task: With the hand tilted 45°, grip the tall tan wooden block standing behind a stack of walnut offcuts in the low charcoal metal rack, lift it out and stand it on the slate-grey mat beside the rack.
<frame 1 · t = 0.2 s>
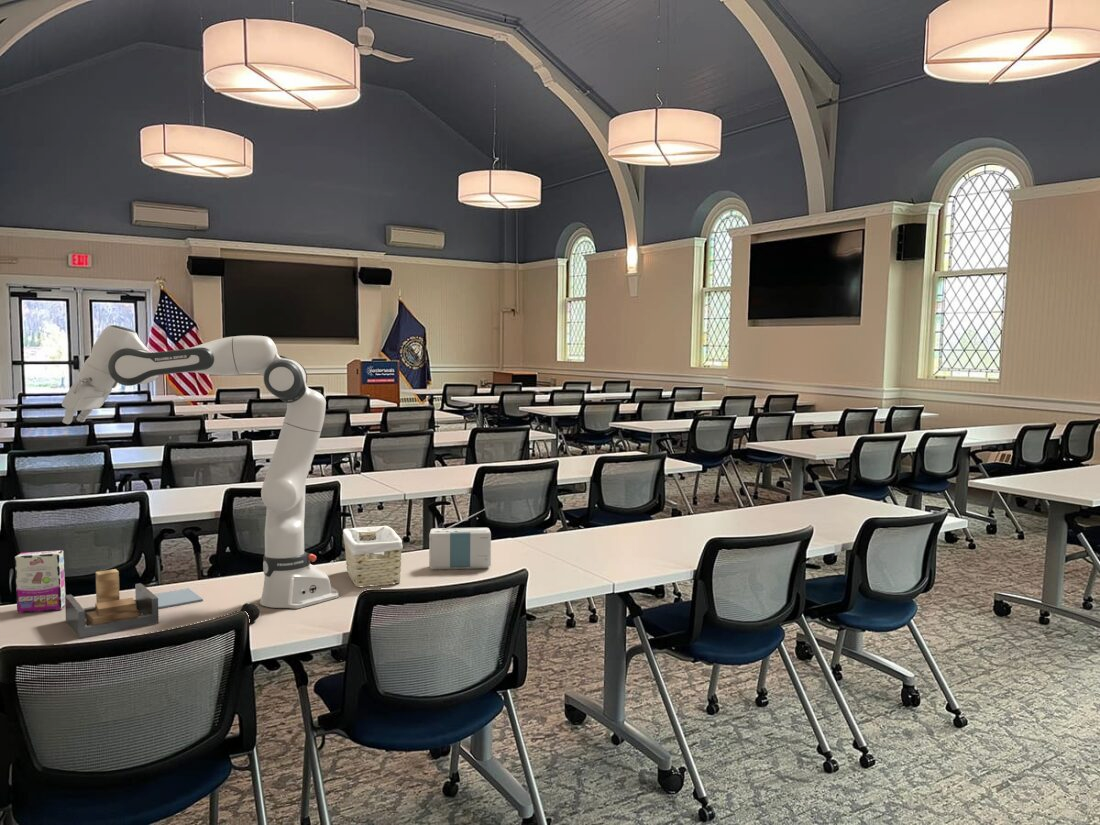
hand: (73, 422, 225), 54 cm above the table, tool tilted 25°, fingers open, 8 cm apart
storage basket: (372, 578, 266), on the table
microphone: (223, 629, 217), on the table
tan wooden block: (108, 618, 224), resting in rack
stereo radio cassette player: (460, 568, 280), on the table
rack: (112, 621, 220), on the table
offcut stack: (114, 625, 219), resting in rack
slate mat: (170, 599, 240), on the table
candy bar box: (41, 610, 230), on the table
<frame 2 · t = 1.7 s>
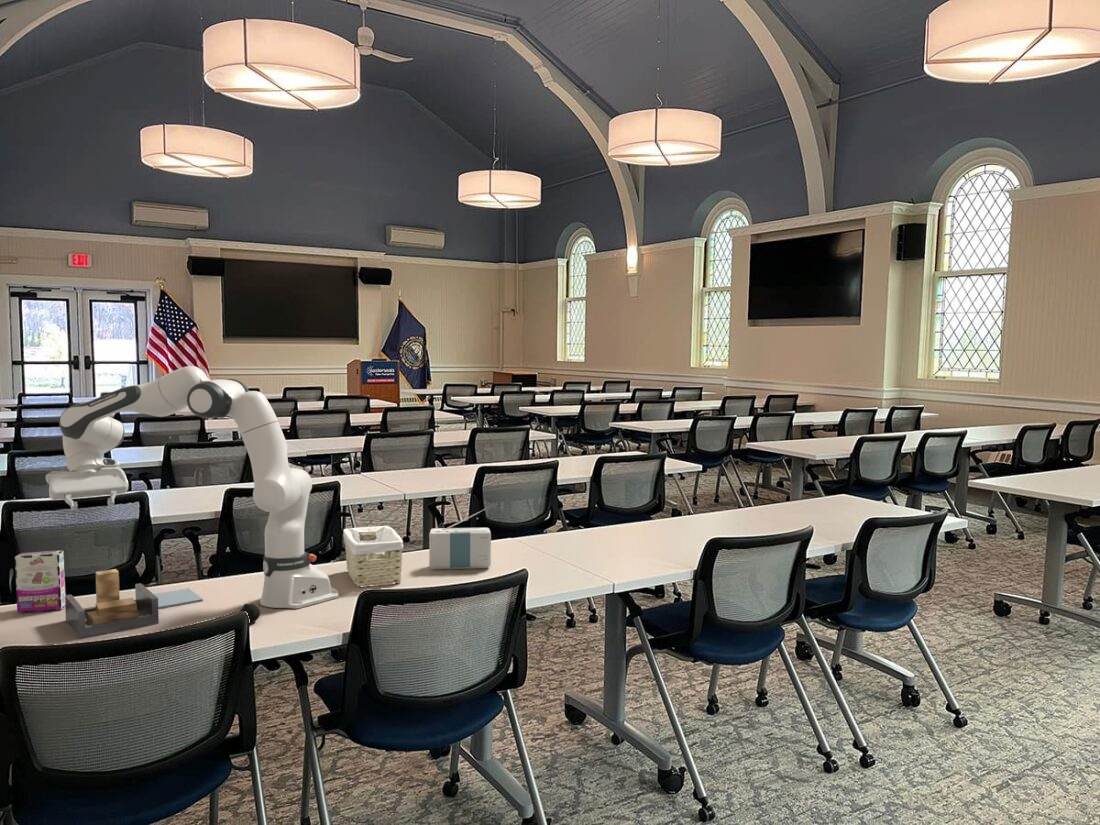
hand: (93, 506, 234), 29 cm above the table, tool tilted 45°, fingers open, 8 cm apart
nothing on the table moved.
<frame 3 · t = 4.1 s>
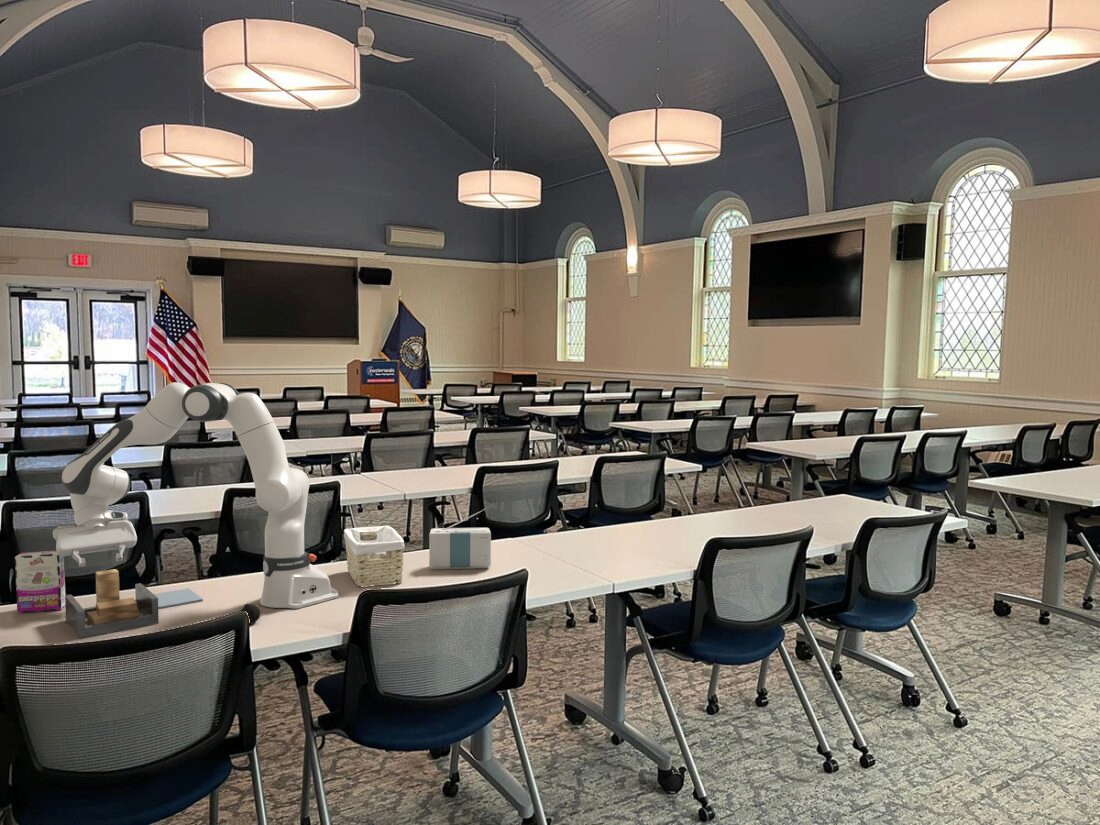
hand: (101, 562, 228), 14 cm above the table, tool tilted 45°, fingers open, 8 cm apart
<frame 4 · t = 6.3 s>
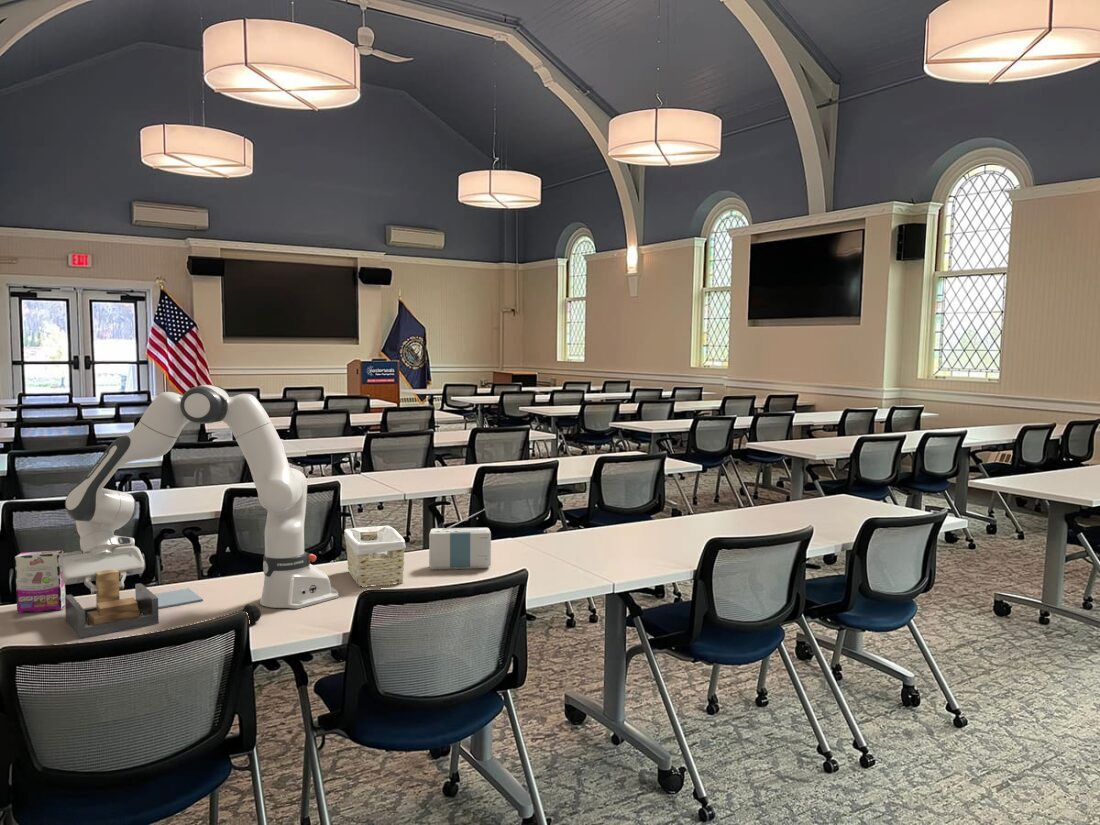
hand: (108, 590, 223), 8 cm above the table, tool tilted 45°, fingers closed on tan wooden block, 5 cm apart
tan wooden block: (108, 617, 224), resting in rack, touching gripper
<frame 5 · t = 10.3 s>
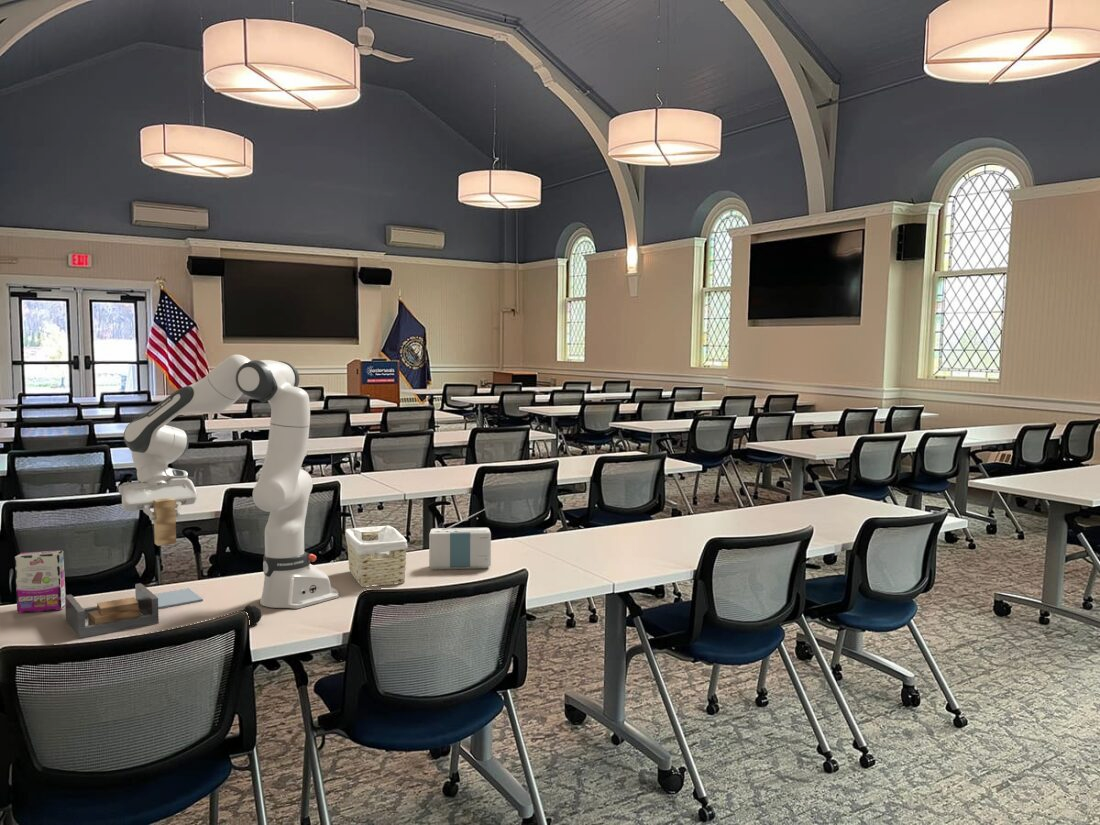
hand: (165, 517, 237), 25 cm above the table, tool tilted 45°, fingers closed on tan wooden block, 5 cm apart
tan wooden block: (165, 543, 238), point 17 cm above the table, touching gripper
when the fingers open (10 cm above the table, at t = 13.9 s): tan wooden block drops 1 cm, resting on slate mat.
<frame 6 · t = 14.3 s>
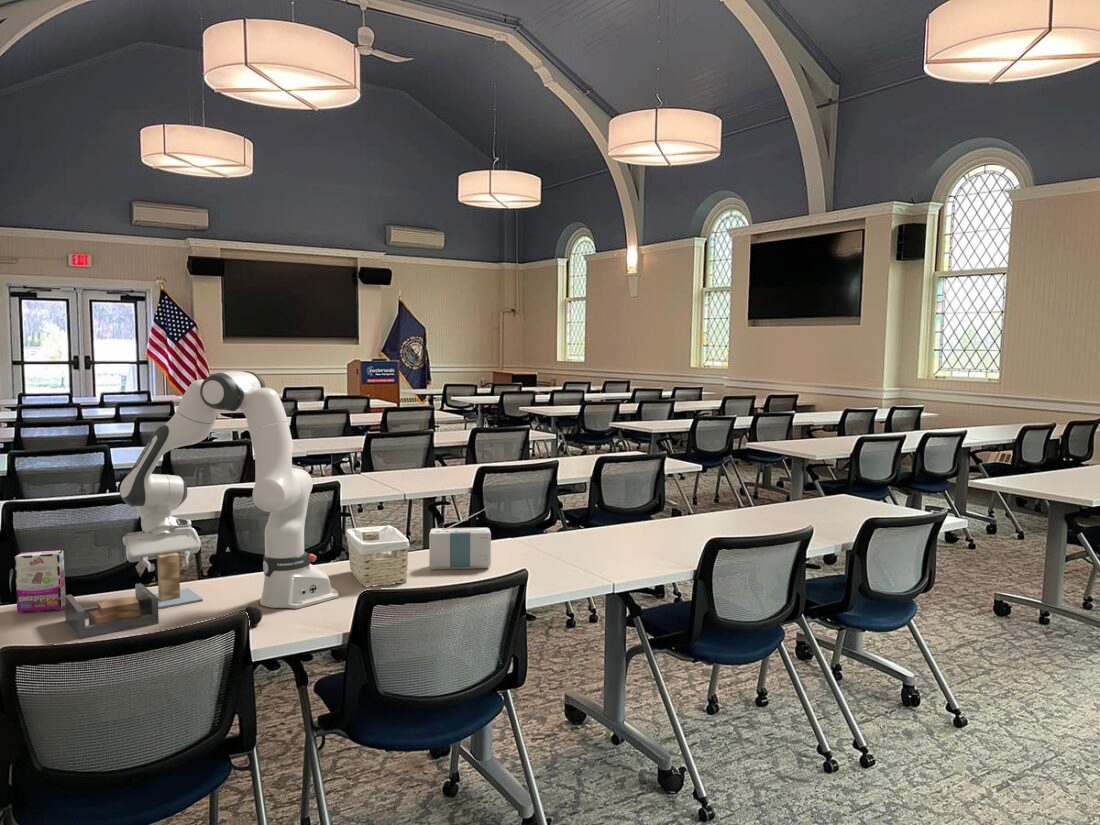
hand: (169, 567, 239), 10 cm above the table, tool tilted 45°, fingers open, 8 cm apart
tan wooden block: (169, 598, 240), point 1 cm above the table, touching slate mat
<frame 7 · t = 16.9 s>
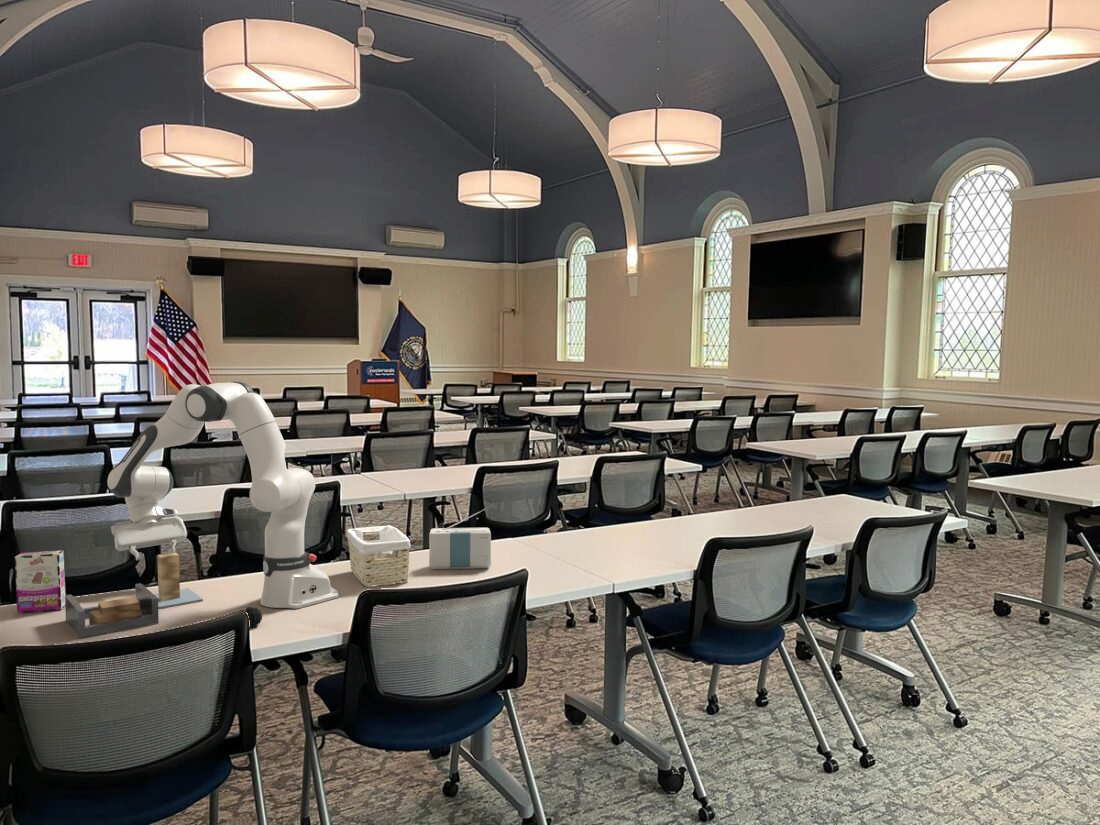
hand: (156, 556, 248), 11 cm above the table, tool tilted 45°, fingers open, 8 cm apart
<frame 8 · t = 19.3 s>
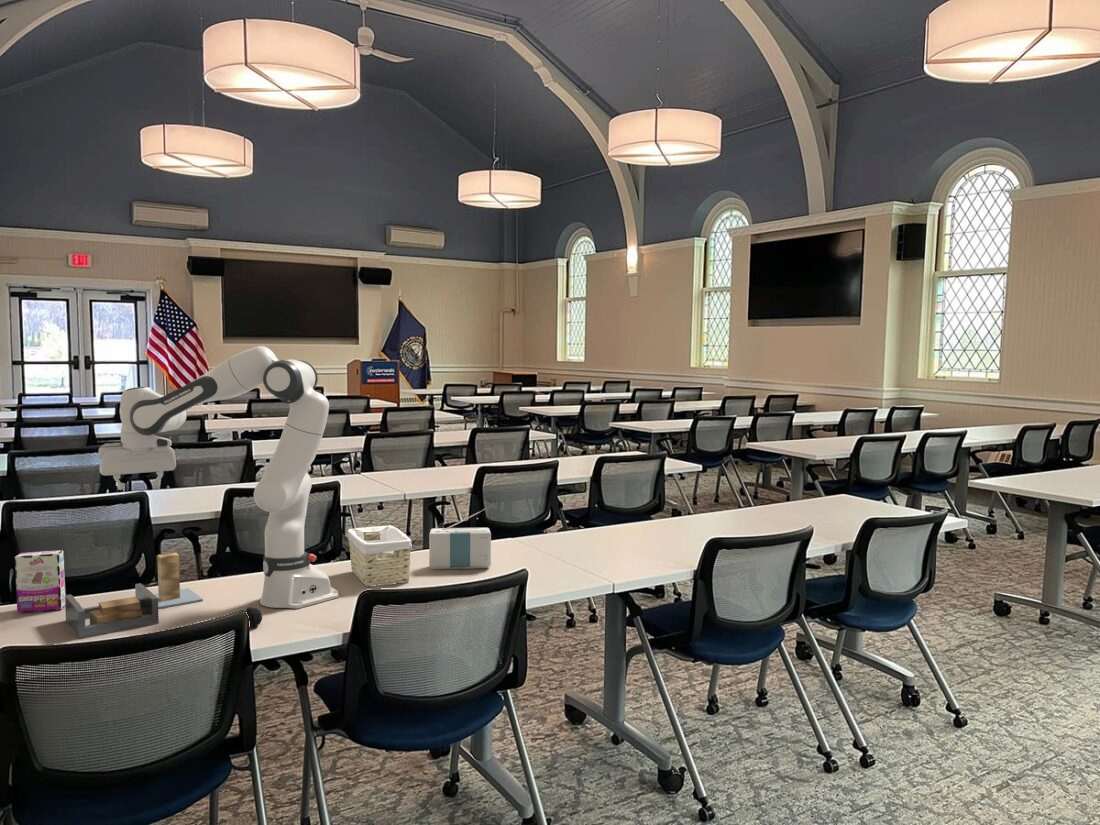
hand: (139, 487, 240), 33 cm above the table, tool pointing down, fingers open, 8 cm apart
at the end: tan wooden block inside the target area on the slate mat (0.4 cm from its centre), point 0.6 cm above the slate mat's base; tan wooden block tilted 0°; offcut stack moved 1.1 cm from its start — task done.
